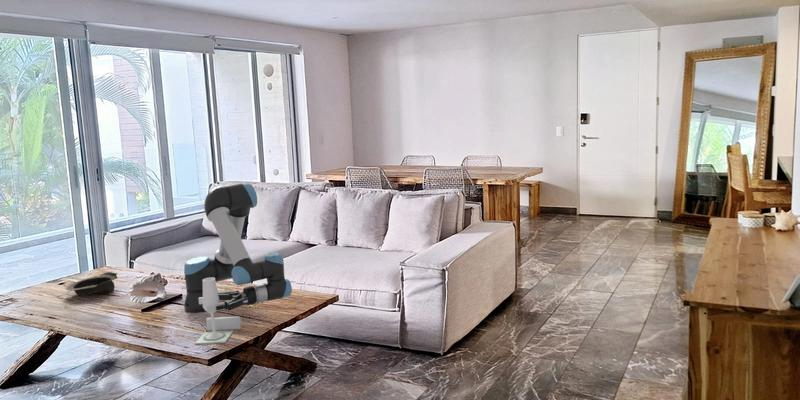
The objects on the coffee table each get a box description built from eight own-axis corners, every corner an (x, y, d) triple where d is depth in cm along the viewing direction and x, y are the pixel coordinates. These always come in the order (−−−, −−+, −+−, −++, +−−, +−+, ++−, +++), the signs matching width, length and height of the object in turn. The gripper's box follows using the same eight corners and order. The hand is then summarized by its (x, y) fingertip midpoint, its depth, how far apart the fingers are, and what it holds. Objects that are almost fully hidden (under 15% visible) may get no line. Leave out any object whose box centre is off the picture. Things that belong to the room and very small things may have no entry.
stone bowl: (129, 289, 326) (126, 272, 324) (85, 306, 306) (81, 289, 304) (103, 283, 339) (99, 267, 337) (58, 299, 319) (55, 283, 317)
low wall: (207, 330, 256) (205, 319, 255) (208, 329, 258) (207, 318, 257) (240, 328, 256) (239, 317, 255) (241, 327, 258) (240, 316, 257)
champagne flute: (209, 333, 250) (203, 277, 247) (225, 333, 250) (219, 276, 247) (203, 339, 244) (197, 281, 240) (220, 339, 243) (214, 281, 240)
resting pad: (195, 344, 241) (194, 342, 241) (204, 333, 253) (204, 331, 253) (225, 342, 241) (225, 341, 241) (233, 331, 253) (233, 330, 253)
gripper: (265, 310, 244) (211, 322, 233) (246, 296, 265) (196, 306, 254) (263, 292, 243) (209, 303, 232) (244, 279, 264) (194, 289, 253)
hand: (202, 305), depth 243 cm, fingers open, 13 cm apart
